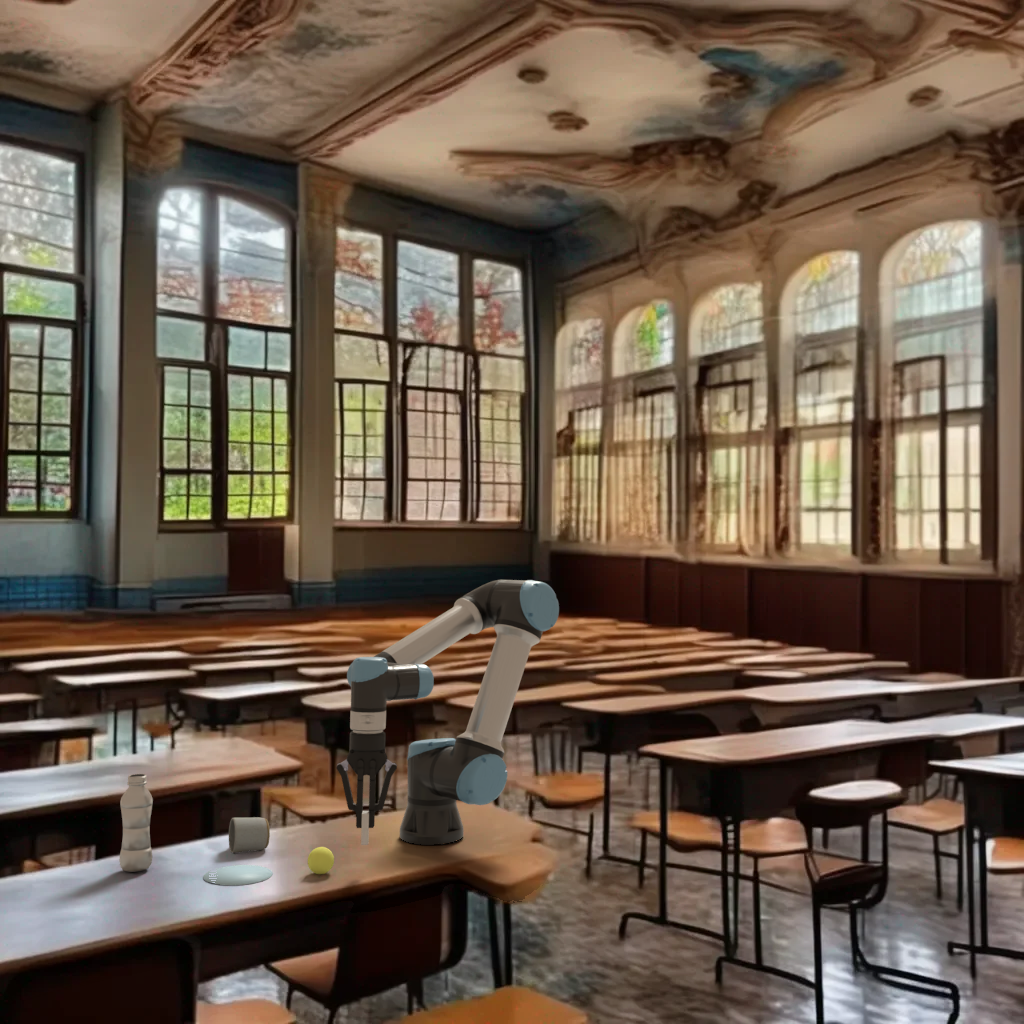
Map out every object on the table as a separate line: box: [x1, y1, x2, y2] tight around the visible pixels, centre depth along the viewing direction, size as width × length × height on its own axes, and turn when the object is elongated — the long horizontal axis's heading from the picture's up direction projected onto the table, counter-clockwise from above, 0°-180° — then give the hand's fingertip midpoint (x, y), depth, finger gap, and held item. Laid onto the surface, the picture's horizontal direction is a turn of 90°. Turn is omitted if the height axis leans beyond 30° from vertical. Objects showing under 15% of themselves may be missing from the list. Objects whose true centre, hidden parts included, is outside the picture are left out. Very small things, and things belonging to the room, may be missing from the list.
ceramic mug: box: [228, 816, 271, 854], centre depth 252 cm, size 11×8×8 cm
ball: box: [307, 846, 335, 875], centre depth 233 cm, size 6×6×6 cm
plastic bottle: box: [119, 773, 154, 873], centre depth 235 cm, size 6×7×20 cm
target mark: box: [203, 864, 274, 887], centre depth 232 cm, size 14×14×1 cm
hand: (364, 843), depth 234 cm, fingers closed
